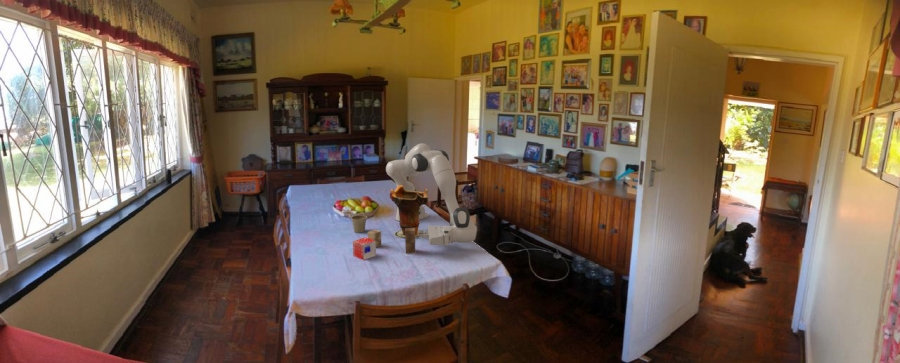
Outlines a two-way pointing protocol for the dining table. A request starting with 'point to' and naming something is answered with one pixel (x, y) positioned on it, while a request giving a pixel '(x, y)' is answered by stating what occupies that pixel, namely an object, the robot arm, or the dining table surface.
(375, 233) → the oak block
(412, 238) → the walnut block
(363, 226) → the flower pot
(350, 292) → the dining table surface
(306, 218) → the dining table surface
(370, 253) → the red and cream cube
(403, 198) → the decorative vase
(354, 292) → the dining table surface
